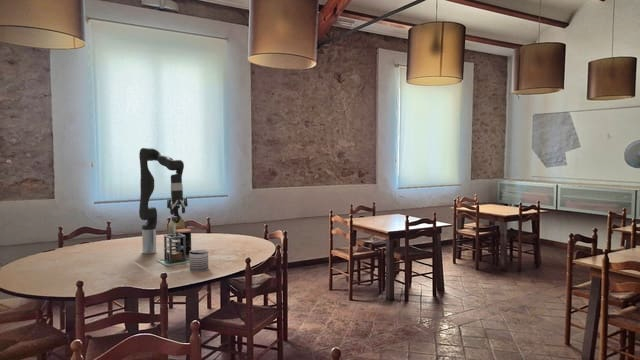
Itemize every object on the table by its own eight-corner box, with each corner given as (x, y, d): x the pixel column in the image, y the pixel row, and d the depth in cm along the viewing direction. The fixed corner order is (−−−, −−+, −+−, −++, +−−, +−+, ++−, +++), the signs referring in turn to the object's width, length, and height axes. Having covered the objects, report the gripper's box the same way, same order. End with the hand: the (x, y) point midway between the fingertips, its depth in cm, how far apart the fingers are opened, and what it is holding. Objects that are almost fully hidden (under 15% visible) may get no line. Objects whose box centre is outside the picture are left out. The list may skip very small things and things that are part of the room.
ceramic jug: (170, 238, 363) (169, 202, 361) (188, 237, 365) (188, 202, 363) (165, 242, 346) (164, 205, 344) (184, 242, 348) (184, 205, 346)
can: (185, 269, 269) (185, 250, 268) (201, 265, 278) (201, 247, 277) (196, 273, 262) (196, 253, 261) (212, 269, 271) (212, 250, 270)
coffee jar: (186, 257, 298) (186, 231, 297) (172, 256, 300) (172, 231, 299) (194, 254, 309) (193, 229, 308) (180, 253, 311) (180, 228, 310)
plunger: (167, 241, 284) (167, 216, 283) (177, 240, 288) (177, 215, 287) (171, 243, 279) (171, 218, 278) (181, 241, 283) (181, 217, 282)
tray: (157, 262, 285) (157, 259, 285) (183, 258, 297) (183, 255, 296) (165, 267, 273) (165, 264, 273) (193, 263, 284) (193, 260, 284)
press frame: (163, 260, 285) (163, 235, 284) (180, 258, 292) (179, 233, 291) (169, 264, 277) (169, 237, 276) (186, 261, 284) (186, 235, 283)
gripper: (182, 189, 297) (183, 212, 298) (164, 190, 286) (165, 214, 286) (189, 189, 293) (190, 213, 293) (170, 190, 281) (172, 215, 282)
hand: (177, 213), depth 290 cm, fingers open, 8 cm apart
